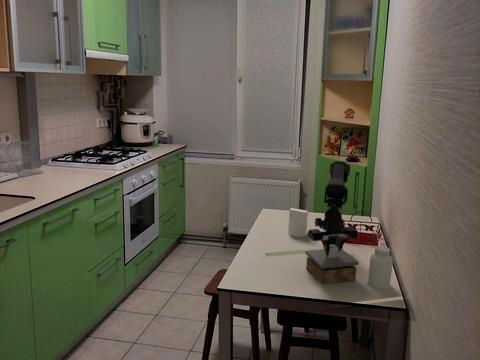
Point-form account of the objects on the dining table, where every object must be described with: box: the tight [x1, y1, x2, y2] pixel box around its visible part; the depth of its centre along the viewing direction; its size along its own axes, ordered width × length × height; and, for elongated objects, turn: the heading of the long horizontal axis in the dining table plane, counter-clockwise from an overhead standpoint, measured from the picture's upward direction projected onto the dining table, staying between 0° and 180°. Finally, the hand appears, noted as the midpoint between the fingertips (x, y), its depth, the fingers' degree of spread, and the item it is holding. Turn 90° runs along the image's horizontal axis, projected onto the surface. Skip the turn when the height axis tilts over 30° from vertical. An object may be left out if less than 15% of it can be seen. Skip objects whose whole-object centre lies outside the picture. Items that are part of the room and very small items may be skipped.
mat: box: [264, 249, 306, 258], centre depth 197 cm, size 18×18×1 cm
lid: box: [304, 244, 360, 268], centre depth 179 cm, size 15×15×5 cm
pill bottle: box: [367, 245, 394, 290], centre depth 172 cm, size 8×8×15 cm
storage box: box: [305, 256, 357, 285], centre depth 181 cm, size 14×14×6 cm
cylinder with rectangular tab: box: [287, 207, 309, 238], centre depth 229 cm, size 9×9×12 cm
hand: (331, 254), depth 179 cm, fingers closed on lid, 3 cm apart
